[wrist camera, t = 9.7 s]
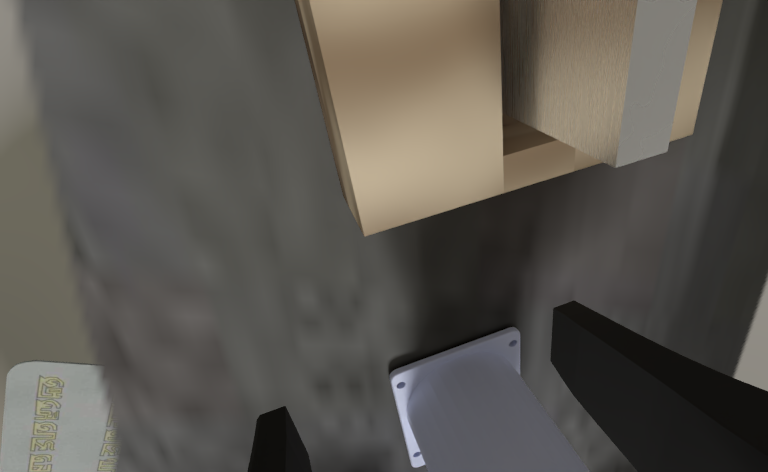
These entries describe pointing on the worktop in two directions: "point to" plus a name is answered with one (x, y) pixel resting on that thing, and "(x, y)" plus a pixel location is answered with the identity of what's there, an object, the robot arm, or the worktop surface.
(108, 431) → the white patterned panel
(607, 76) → the silver rectangular block
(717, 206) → the worktop surface
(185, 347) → the worktop surface
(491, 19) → the slotted tan block
